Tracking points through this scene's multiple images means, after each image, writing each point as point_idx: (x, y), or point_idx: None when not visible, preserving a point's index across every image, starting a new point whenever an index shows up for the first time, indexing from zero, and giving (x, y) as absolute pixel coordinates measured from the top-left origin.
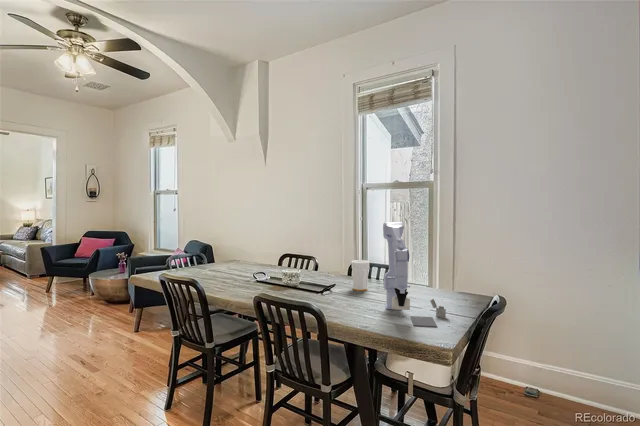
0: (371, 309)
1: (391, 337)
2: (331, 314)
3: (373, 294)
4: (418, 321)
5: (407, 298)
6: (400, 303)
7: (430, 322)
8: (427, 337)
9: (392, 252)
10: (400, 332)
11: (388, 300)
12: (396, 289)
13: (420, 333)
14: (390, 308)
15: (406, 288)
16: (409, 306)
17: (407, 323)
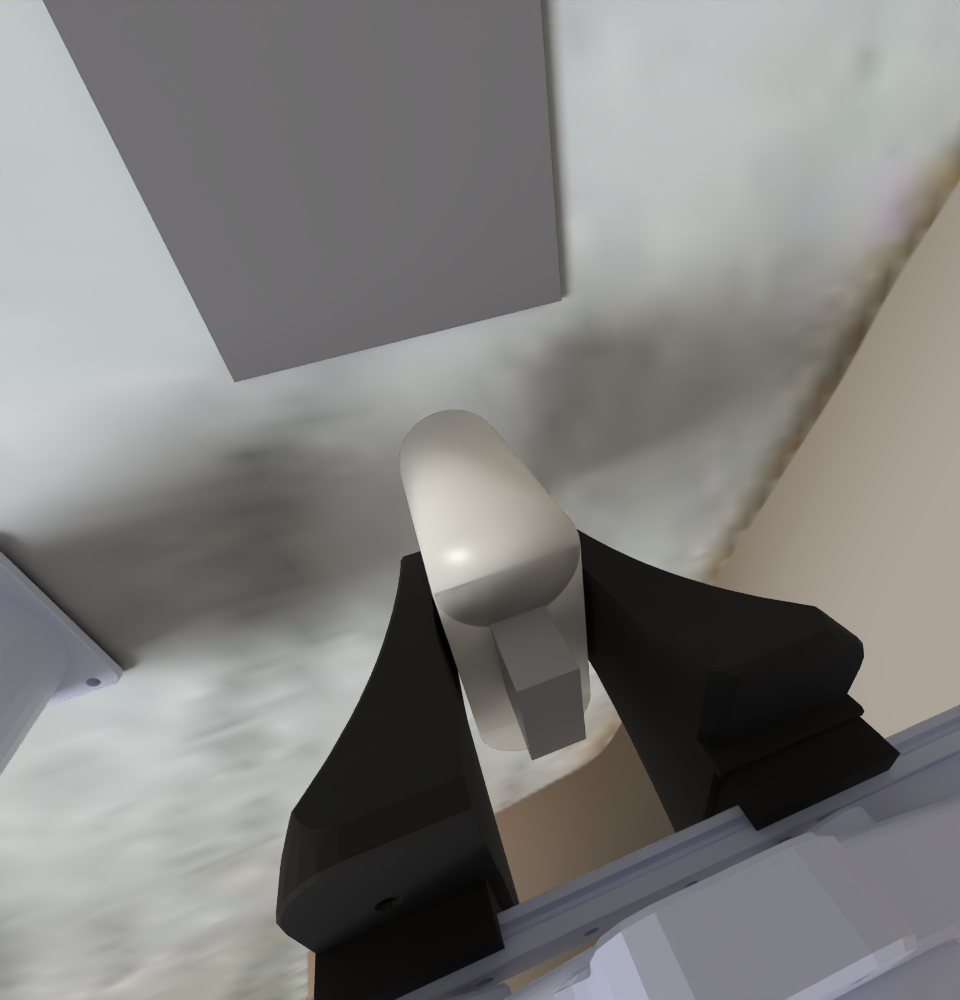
0: (228, 744)
1: (802, 440)
2: None
3: None
4: (417, 245)
5: (539, 543)
6: None
7: (387, 15)
8: (844, 109)
9: None
10: (719, 399)
11: (8, 761)
12: (516, 901)
13: (744, 201)
14: (87, 649)
15: (957, 809)
16: (483, 430)
17: (488, 378)
